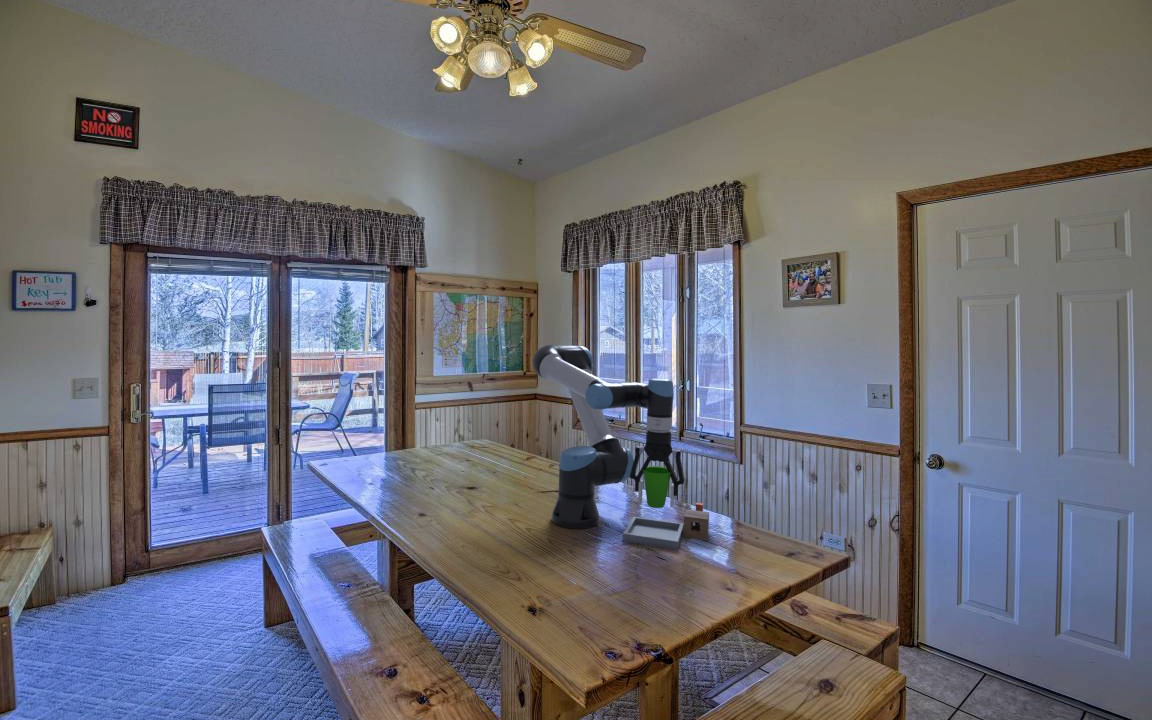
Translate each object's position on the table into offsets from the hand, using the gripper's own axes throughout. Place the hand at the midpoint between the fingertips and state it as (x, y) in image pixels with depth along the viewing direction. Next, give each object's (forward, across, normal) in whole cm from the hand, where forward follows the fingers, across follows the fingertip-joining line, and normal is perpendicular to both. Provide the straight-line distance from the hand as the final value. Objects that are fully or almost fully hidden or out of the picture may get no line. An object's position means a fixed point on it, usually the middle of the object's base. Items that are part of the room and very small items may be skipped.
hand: (655, 503), depth 164 cm
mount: (+10, +12, +6) cm, 17 cm away
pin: (+9, +12, +13) cm, 20 cm away
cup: (+1, 0, 0) cm, 1 cm away
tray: (+10, 0, 0) cm, 10 cm away
